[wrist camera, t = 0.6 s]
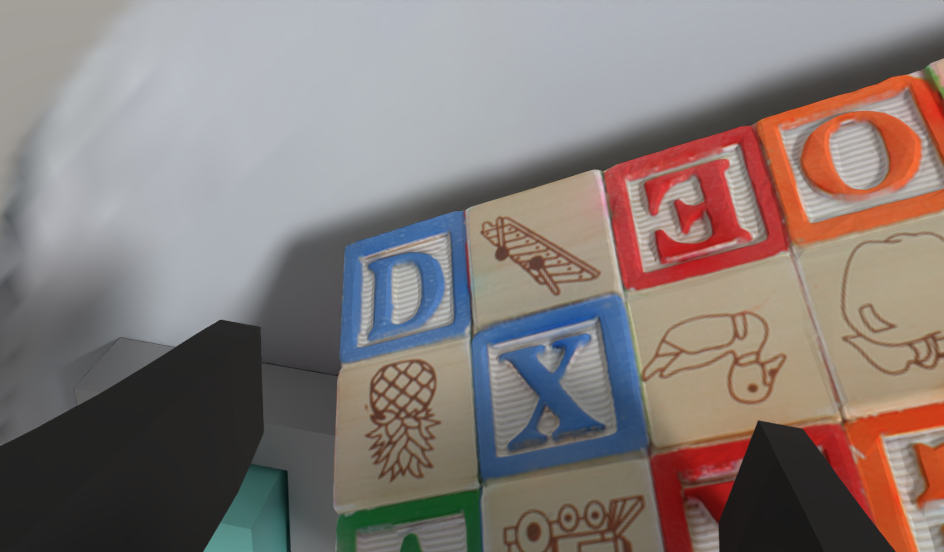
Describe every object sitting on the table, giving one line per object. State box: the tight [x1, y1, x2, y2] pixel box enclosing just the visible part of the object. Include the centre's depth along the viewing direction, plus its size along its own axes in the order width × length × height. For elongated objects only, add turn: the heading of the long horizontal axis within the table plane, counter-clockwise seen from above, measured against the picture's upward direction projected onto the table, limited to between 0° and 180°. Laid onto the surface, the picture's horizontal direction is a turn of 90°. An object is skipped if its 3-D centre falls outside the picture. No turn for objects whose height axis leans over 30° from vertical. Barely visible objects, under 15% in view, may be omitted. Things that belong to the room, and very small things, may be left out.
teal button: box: [203, 464, 291, 552], centre depth 24 cm, size 4×4×4 cm
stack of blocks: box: [333, 59, 944, 552], centre depth 14 cm, size 21×6×12 cm
